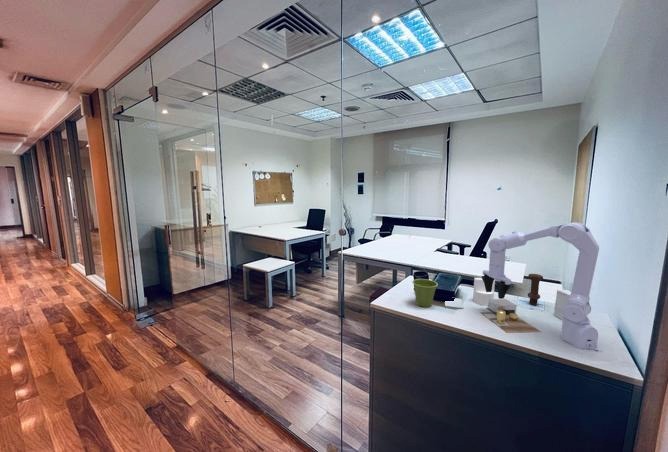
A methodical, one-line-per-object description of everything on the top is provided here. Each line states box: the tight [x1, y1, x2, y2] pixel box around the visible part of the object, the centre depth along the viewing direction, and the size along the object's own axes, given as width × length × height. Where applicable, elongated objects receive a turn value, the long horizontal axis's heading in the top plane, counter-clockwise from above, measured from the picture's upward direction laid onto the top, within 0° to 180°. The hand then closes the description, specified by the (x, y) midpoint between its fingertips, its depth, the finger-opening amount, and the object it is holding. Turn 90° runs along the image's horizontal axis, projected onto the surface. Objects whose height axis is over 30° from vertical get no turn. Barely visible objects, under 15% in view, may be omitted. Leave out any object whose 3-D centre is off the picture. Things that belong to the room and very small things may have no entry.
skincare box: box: [553, 289, 571, 321], centre depth 117 cm, size 6×4×12 cm
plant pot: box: [412, 278, 439, 308], centre depth 132 cm, size 12×12×11 cm
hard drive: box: [444, 297, 465, 310], centre depth 133 cm, size 2×8×12 cm
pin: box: [495, 310, 507, 326], centre depth 111 cm, size 3×3×6 cm
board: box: [480, 307, 542, 334], centre depth 115 cm, size 23×15×3 cm, turn 2°
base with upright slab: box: [472, 277, 496, 307], centre depth 135 cm, size 9×9×12 cm
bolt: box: [527, 273, 544, 306], centre depth 131 cm, size 6×5×15 cm
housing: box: [487, 298, 517, 314], centre depth 122 cm, size 7×8×4 cm
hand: (494, 295), depth 118 cm, fingers open, 7 cm apart
